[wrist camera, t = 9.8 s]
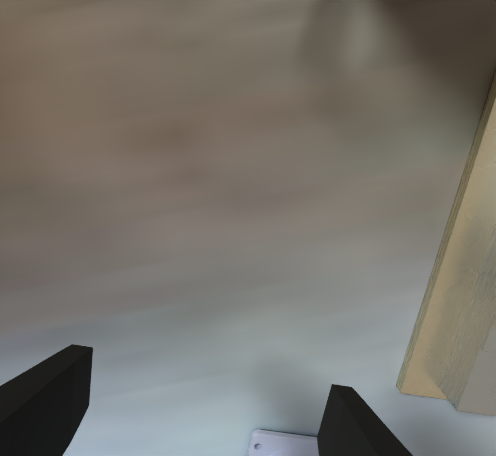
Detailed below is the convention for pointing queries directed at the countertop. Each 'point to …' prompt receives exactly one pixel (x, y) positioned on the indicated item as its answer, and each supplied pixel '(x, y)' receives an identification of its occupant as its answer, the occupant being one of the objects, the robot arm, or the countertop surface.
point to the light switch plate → (462, 292)
